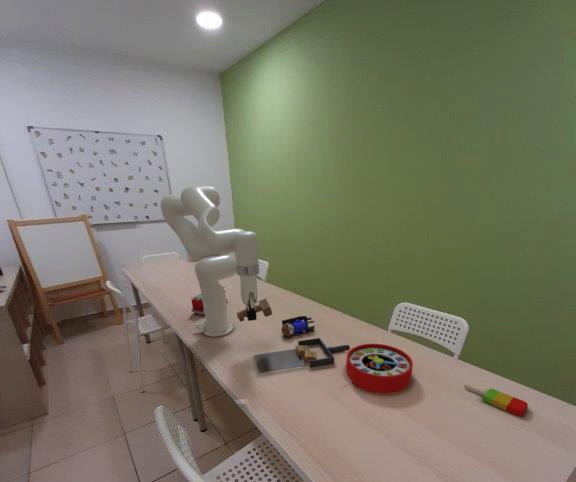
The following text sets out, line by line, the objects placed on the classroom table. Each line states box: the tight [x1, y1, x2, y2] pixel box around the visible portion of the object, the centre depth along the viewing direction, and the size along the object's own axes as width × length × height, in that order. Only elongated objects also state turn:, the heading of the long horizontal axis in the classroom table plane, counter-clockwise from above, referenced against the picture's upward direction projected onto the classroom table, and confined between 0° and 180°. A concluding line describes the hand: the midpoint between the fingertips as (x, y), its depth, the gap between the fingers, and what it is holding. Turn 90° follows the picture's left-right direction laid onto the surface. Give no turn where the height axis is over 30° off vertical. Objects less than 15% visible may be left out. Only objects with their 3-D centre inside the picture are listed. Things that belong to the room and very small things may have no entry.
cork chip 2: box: [303, 350, 317, 364], centre depth 104 cm, size 4×4×2 cm
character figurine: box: [281, 315, 316, 337], centre depth 123 cm, size 8×7×15 cm
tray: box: [254, 348, 307, 374], centre depth 105 cm, size 16×12×1 cm
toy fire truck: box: [190, 286, 229, 315], centre depth 151 cm, size 9×19×10 cm, turn 148°
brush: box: [235, 298, 273, 323], centre depth 109 cm, size 12×9×3 cm
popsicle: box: [463, 384, 529, 417], centre depth 84 cm, size 6×15×2 cm, turn 42°
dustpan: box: [297, 337, 351, 368], centre depth 108 cm, size 18×15×3 cm
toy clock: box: [345, 343, 414, 395], centre depth 96 cm, size 20×6×20 cm
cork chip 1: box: [295, 344, 311, 358], centre depth 108 cm, size 4×4×2 cm
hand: (251, 318), depth 109 cm, fingers closed on brush, 2 cm apart
